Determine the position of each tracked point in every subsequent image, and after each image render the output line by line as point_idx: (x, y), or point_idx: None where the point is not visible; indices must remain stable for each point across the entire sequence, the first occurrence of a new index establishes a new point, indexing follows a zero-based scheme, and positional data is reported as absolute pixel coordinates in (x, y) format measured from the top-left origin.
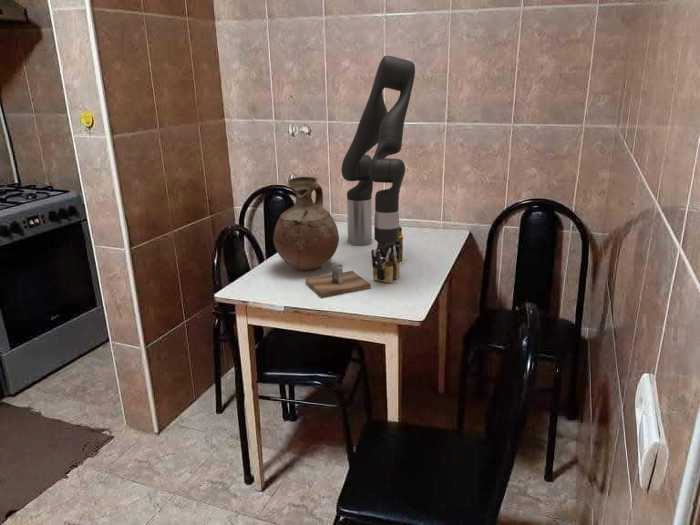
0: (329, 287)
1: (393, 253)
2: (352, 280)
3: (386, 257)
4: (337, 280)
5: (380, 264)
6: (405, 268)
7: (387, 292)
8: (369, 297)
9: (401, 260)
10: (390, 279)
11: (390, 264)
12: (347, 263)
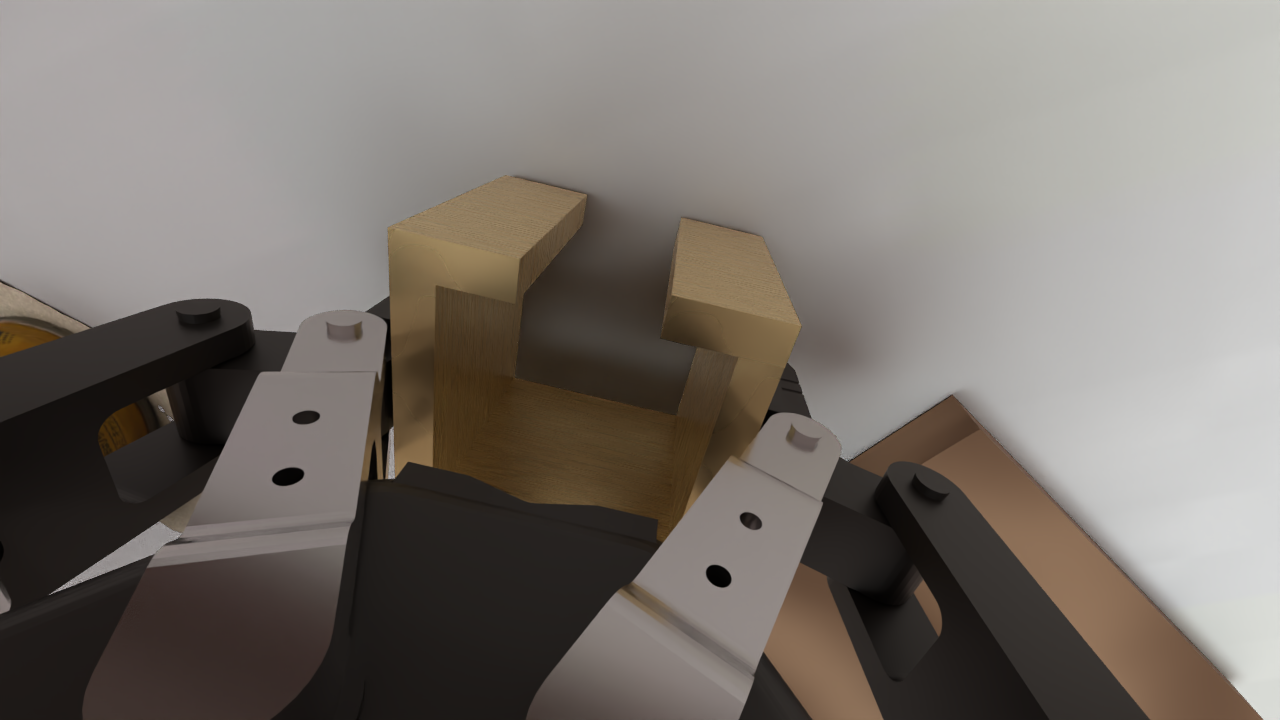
0: None
1: (363, 467)
2: None
3: (786, 552)
4: None
5: (941, 528)
6: (161, 208)
7: (1089, 162)
8: (1275, 330)
9: (7, 325)
10: (743, 243)
11: (460, 374)
12: None
